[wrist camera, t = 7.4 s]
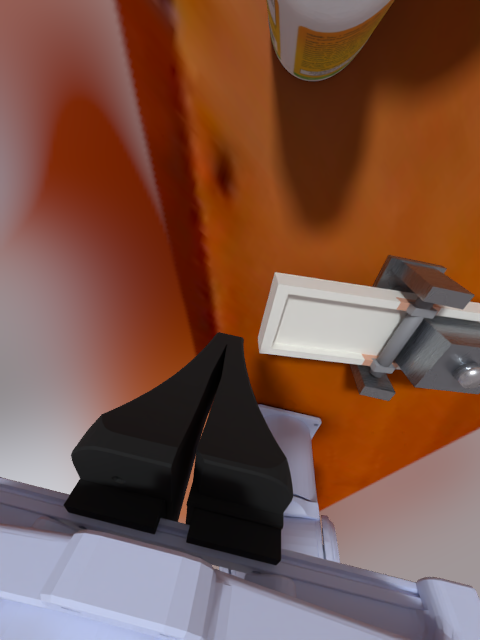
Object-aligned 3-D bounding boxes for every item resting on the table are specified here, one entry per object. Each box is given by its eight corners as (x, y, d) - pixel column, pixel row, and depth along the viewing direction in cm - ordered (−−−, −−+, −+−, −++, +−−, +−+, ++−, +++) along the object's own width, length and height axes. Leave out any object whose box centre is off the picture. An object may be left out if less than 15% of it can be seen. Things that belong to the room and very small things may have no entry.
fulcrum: (377, 361, 24) (398, 403, 19) (337, 352, 24) (349, 392, 20) (442, 266, 18) (489, 296, 14) (388, 254, 18) (420, 282, 14)
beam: (465, 368, 22) (488, 390, 20) (256, 343, 21) (258, 364, 19) (529, 303, 18) (565, 321, 16) (276, 264, 17) (282, 279, 15)
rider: (444, 360, 20) (487, 403, 17) (388, 353, 20) (421, 396, 16) (477, 321, 18) (536, 362, 14) (416, 312, 18) (461, 352, 14)
